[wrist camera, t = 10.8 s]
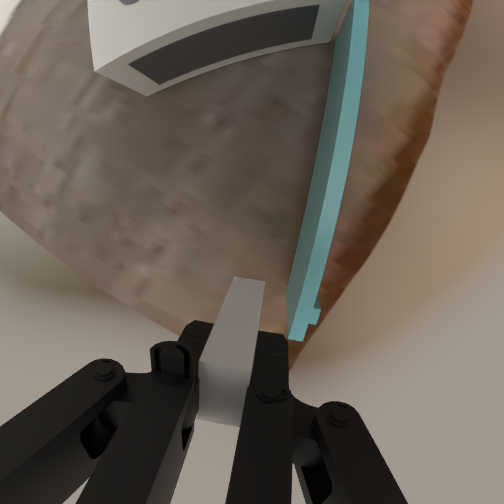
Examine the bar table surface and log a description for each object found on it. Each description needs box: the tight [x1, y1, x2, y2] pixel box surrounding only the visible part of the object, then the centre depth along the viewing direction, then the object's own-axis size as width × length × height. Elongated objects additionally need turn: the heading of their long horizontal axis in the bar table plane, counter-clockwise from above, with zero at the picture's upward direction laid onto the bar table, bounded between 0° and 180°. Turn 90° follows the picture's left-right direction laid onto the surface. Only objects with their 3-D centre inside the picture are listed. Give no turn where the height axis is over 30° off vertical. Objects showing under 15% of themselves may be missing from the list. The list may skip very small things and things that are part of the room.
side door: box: [286, 0, 369, 341], centre depth 19 cm, size 24×2×8 cm, turn 170°
